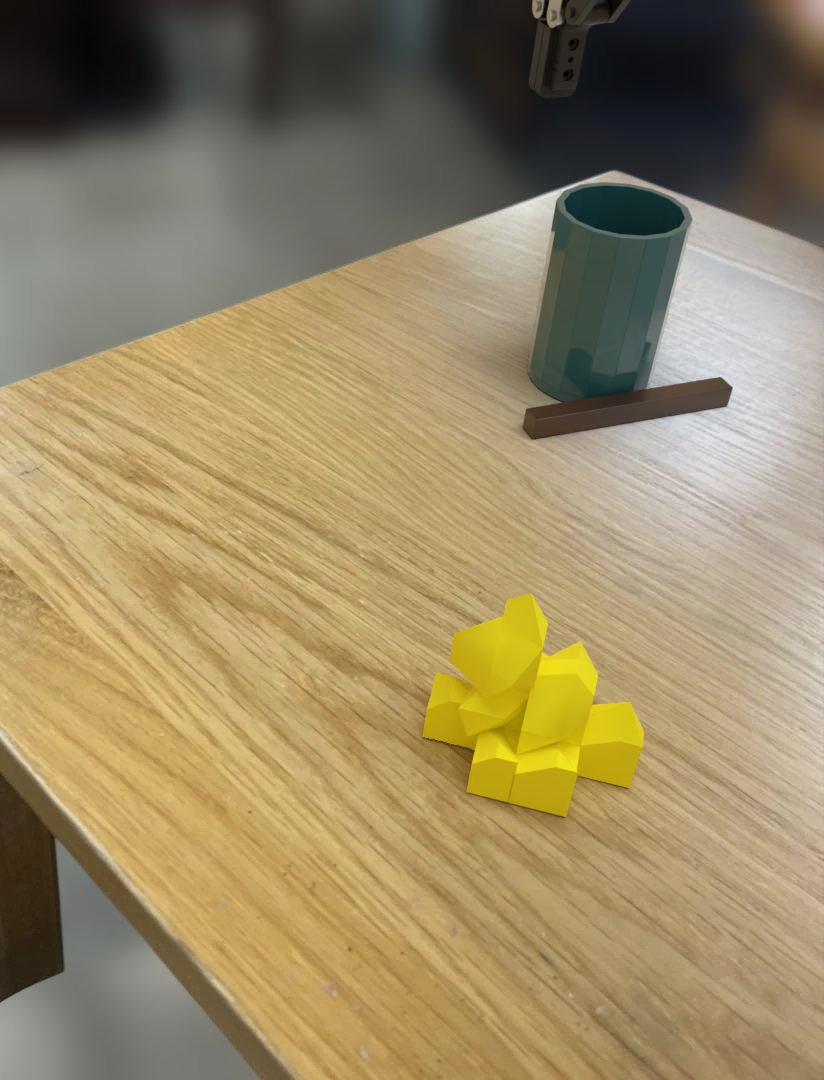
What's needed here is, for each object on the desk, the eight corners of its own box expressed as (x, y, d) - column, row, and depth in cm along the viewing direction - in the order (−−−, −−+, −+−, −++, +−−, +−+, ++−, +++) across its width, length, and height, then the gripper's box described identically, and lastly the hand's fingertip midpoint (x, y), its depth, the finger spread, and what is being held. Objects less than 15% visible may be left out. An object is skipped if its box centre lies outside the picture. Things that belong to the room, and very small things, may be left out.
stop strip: (715, 394, 68) (721, 376, 68) (728, 406, 67) (733, 387, 67) (522, 427, 65) (525, 408, 64) (532, 439, 64) (535, 420, 64)
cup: (610, 338, 73) (646, 176, 66) (672, 398, 68) (718, 229, 62) (506, 353, 71) (534, 189, 65) (562, 416, 66) (598, 245, 60)
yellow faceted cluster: (624, 831, 45) (674, 683, 40) (410, 778, 46) (432, 628, 42) (636, 718, 49) (682, 571, 44) (441, 672, 51) (463, 526, 46)
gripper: (769, -264, 53) (674, 131, 64) (614, -298, 63) (554, 50, 74) (617, -264, 51) (546, 143, 62) (480, -299, 61) (440, 59, 72)
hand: (550, 92), depth 68 cm, fingers closed
